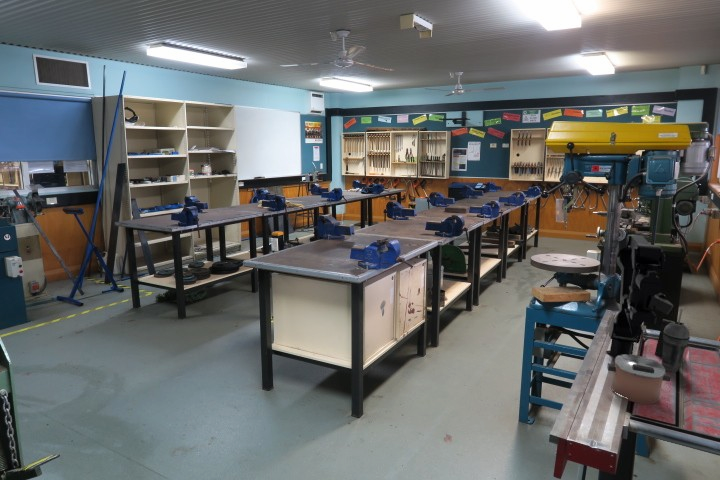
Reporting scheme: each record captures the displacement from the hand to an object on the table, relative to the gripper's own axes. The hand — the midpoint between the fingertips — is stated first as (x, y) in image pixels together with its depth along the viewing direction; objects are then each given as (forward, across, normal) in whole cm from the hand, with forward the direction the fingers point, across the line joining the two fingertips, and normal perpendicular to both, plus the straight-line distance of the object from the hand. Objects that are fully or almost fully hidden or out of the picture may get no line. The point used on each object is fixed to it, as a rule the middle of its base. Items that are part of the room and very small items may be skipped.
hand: (633, 334), depth 146 cm
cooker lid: (+5, -13, 0) cm, 14 cm away
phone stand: (+13, +22, -16) cm, 30 cm away
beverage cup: (+13, +10, -14) cm, 22 cm away
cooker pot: (+13, -12, 0) cm, 18 cm away
